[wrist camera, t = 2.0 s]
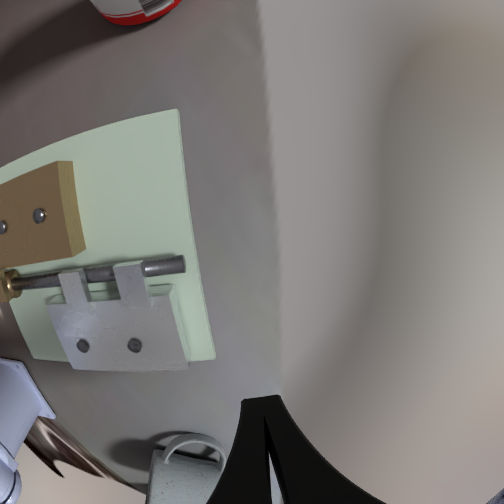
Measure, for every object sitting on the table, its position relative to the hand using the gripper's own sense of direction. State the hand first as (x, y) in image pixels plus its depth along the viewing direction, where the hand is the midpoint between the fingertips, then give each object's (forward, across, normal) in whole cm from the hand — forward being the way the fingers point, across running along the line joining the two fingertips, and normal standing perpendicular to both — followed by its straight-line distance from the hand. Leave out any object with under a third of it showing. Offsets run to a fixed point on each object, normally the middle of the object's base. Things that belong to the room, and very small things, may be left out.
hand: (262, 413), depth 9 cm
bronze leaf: (+8, +11, -7) cm, 15 cm away
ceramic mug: (+9, +8, +18) cm, 22 cm away
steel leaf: (+8, +9, -1) cm, 12 cm away
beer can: (+9, +4, -23) cm, 25 cm away
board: (+9, +11, -5) cm, 15 cm away
